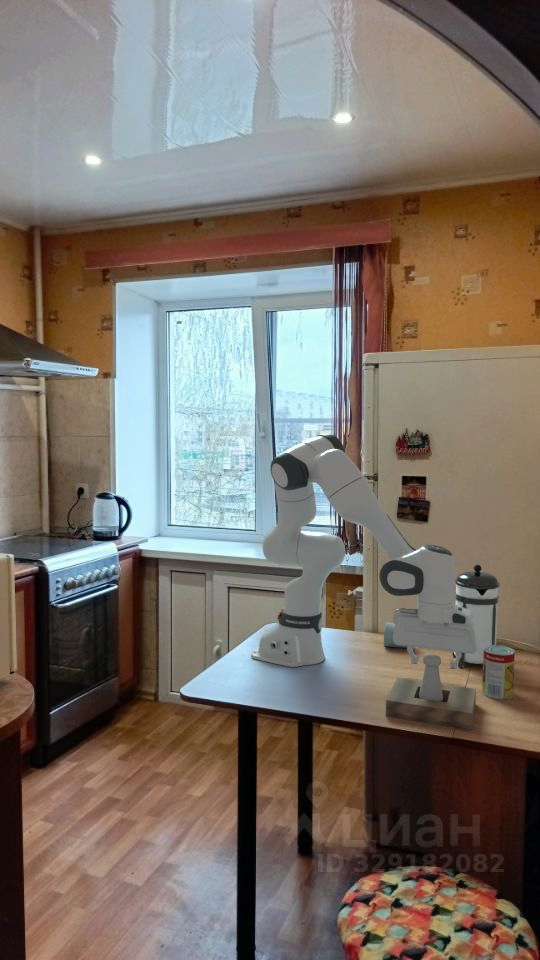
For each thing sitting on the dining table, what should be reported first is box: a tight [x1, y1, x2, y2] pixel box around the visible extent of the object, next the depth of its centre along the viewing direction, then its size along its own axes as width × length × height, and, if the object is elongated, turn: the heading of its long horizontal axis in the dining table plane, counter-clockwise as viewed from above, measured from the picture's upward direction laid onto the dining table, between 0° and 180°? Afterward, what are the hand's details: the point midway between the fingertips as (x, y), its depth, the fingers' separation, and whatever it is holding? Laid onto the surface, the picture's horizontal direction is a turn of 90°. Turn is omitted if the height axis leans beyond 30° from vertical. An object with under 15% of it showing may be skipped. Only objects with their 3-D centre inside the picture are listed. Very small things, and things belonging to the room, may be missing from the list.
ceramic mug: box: [383, 621, 407, 649], centre depth 217 cm, size 11×8×8 cm
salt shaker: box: [419, 653, 443, 702], centre depth 166 cm, size 6×6×13 cm
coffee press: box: [452, 564, 501, 669], centre depth 201 cm, size 17×16×30 cm
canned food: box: [481, 644, 516, 700], centre depth 177 cm, size 8×8×12 cm
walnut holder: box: [385, 677, 477, 731], centre depth 166 cm, size 20×16×4 cm
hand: (433, 665), depth 166 cm, fingers open, 8 cm apart
